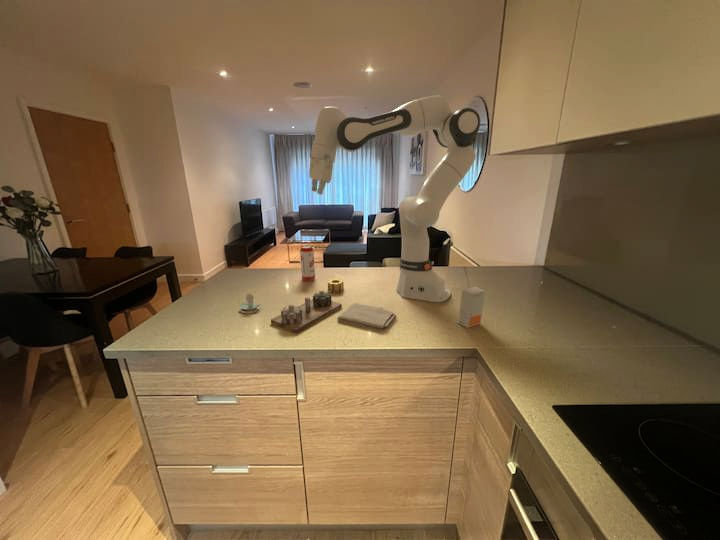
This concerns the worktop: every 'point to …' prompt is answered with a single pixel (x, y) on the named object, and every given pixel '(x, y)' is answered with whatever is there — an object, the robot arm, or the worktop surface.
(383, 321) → the washcloth
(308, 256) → the beer can
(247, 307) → the pacifier
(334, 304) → the gear board
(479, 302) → the skincare box
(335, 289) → the brass gear
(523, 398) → the worktop surface
